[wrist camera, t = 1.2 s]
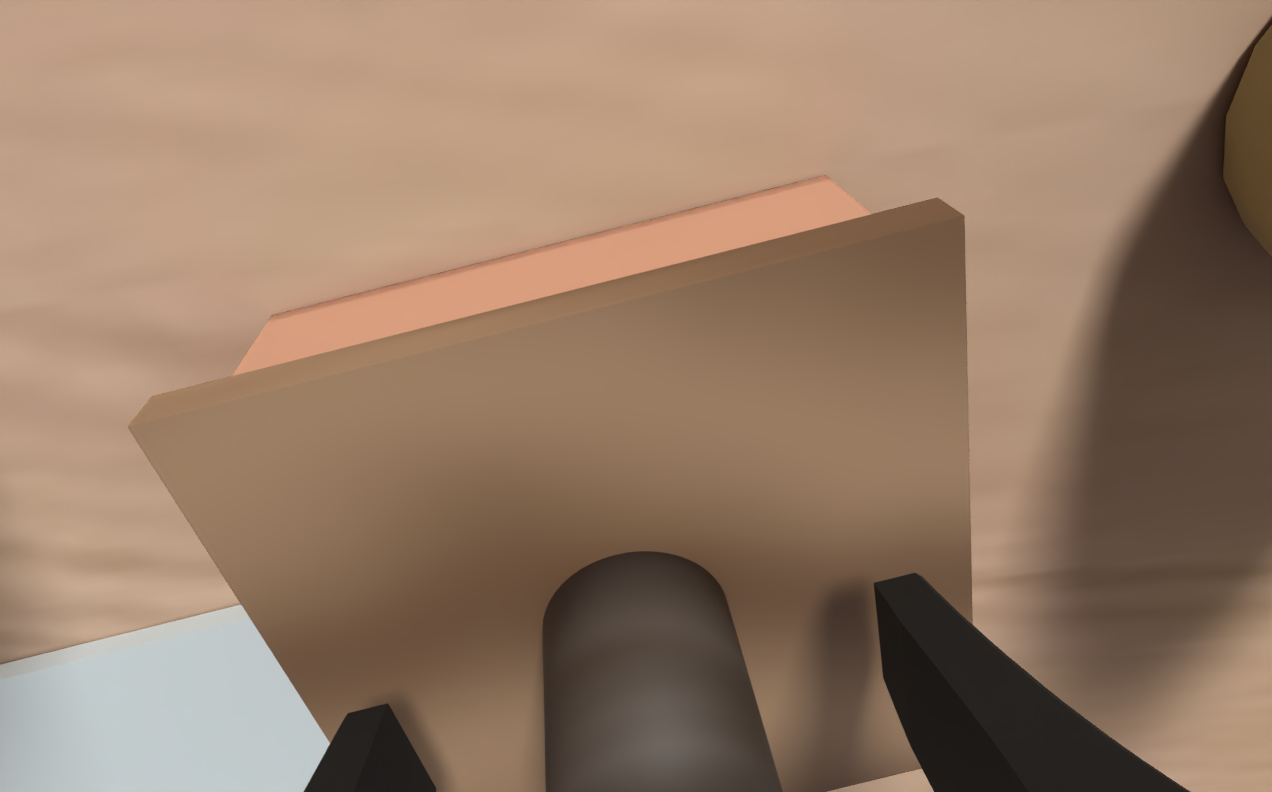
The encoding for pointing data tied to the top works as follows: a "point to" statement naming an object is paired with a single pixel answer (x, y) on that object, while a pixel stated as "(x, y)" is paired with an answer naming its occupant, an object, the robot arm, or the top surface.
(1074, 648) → the top surface
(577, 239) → the shallow cardboard tray
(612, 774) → the lid
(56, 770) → the mat
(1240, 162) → the squeeze bottle
